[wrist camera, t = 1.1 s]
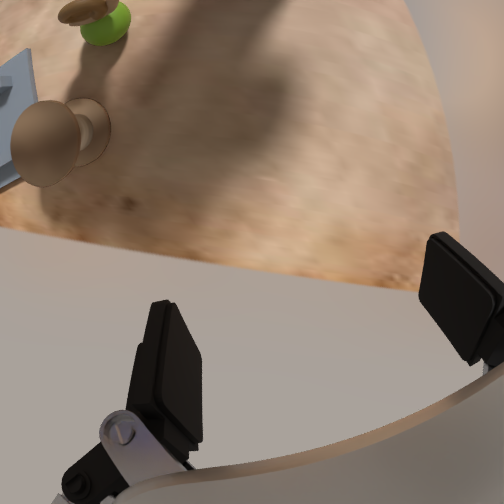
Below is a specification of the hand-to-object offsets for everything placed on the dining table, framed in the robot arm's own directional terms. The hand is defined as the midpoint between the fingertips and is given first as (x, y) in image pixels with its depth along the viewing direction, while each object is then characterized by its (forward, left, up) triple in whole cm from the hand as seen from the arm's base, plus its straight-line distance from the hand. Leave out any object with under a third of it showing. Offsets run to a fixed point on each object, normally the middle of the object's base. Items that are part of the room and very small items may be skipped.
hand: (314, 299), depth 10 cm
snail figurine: (-19, -11, -25) cm, 33 cm away
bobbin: (-8, -18, -25) cm, 32 cm away
